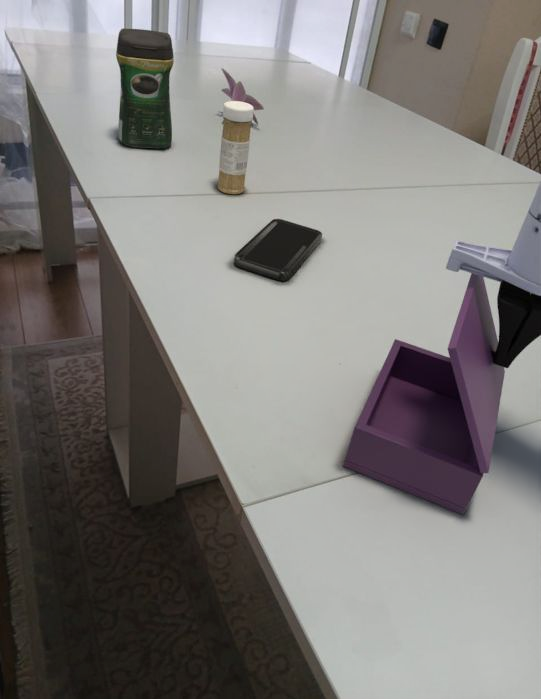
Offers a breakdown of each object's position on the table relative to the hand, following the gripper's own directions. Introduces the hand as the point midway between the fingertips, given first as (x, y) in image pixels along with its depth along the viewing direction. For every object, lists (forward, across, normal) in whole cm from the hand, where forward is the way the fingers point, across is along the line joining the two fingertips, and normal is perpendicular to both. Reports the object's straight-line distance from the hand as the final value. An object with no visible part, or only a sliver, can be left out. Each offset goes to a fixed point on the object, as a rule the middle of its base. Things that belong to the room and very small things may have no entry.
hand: (501, 360), depth 53 cm
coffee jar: (+9, +66, -46) cm, 81 cm away
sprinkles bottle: (+9, +44, -37) cm, 58 cm away
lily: (+9, +59, -71) cm, 93 cm away
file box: (+8, +4, +4) cm, 10 cm away
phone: (+8, +29, -22) cm, 38 cm away
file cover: (-1, +2, +4) cm, 5 cm away
